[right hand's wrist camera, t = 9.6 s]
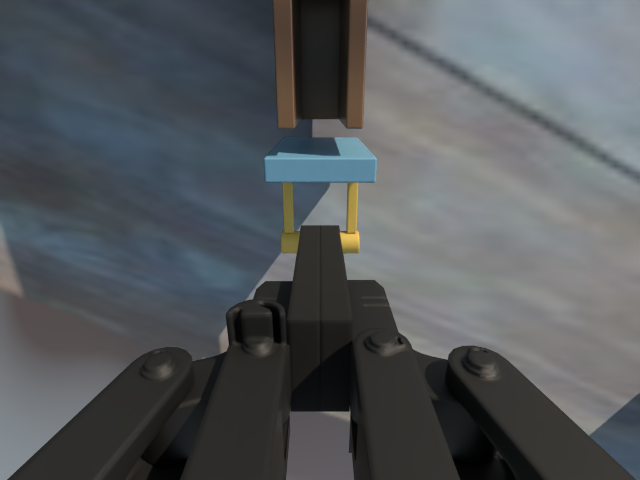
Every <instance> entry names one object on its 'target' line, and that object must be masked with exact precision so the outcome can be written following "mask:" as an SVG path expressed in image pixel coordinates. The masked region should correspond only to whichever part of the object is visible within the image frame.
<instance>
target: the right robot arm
mask: <svg viewBox="0 0 640 480" xmlns="http://www.w3.org/2000/svg"><path fill="white" fill-rule="evenodd" d="M226 321H227V330H228V339H229V347H228V349H227V351H226V352H224V353H222V354H220V355H217V356H214V357H210V358H206V359H201V360H197V361H192V357H191V355H190V354H189V353H188V352H187V351H186V350H183V349H180V348H174V347H166V348H161V349H156V350H153V351H151V352H148V353H146V354H144V355H142V356H140V357H139V358H138V359H136V360H135V361H133V362H132V363H131V364H130V365H129V366H128V367H127V368H126V369H125V370H124V371H123V372H122V373H120V374H119V375H118V376H117V377H116V378H115V379H114V380H113V381H112V382H111V383H110V384H109V385H108V386H107V387H106V388H104V389H103V390H102V391H101V392H100V393H99V394H98V395H97V396H96V397H95V398H94V399H93V400H92V401H91V402H90V403H88V404H87V405H86V406H85V407H84V408H83V409H82V410H81V411H80V412H79V413H78V414H77V415H76V416H75V417H74V418H73V419H72V420H70V421H69V422H68V423H67V424H66V425H65V426H64V427H63V428H62V429H61V430H60V431H59V432H58V433H57V434H55V435H54V436H53V437H52V438H51V439H50V440H49V441H48V442H47V443H46V444H45V445H44V446H43V447H42V448H41V449H40V450H38V451H37V452H36V453H35V454H34V455H33V456H32V457H31V458H30V459H29V460H28V461H27V462H26V463H25V464H23V465H22V466H21V467H20V468H19V469H18V470H17V471H16V472H15V473H14V474H13V475H12V476H11V477H10V478H9V479H7V480H286V471H287V459H288V448H289V436H290V416H289V413H290V410H291V411H349V410H350V411H351V416H350V441H349V453H352V458H353V470H354V480H636V479H635V478H633V477H632V476H631V475H630V474H629V473H628V472H627V471H626V470H625V469H624V468H623V467H622V466H621V465H620V464H618V463H617V462H616V461H615V460H614V459H613V458H612V457H611V456H610V455H609V454H608V453H607V452H606V451H604V450H603V449H602V448H601V447H600V446H599V445H598V444H597V443H596V442H595V441H594V440H593V439H592V438H591V437H589V436H588V435H587V434H586V433H585V432H584V431H583V430H582V429H581V428H580V427H579V426H578V425H577V424H575V423H574V422H573V421H572V420H571V419H570V418H569V417H568V416H567V415H566V414H565V413H564V412H563V411H562V410H560V409H559V408H558V407H557V406H556V405H555V404H554V403H553V402H552V401H551V400H550V399H549V398H548V397H546V396H545V395H544V394H543V393H542V392H541V391H540V390H539V389H538V388H537V387H536V386H535V385H534V384H533V383H531V382H530V381H529V380H528V379H527V378H526V377H525V376H524V375H523V374H522V373H521V372H520V371H519V370H517V369H516V368H515V367H514V366H513V365H512V364H511V363H510V362H509V361H508V360H506V359H505V358H504V357H502V356H501V355H499V354H498V353H496V352H494V351H491V350H489V349H486V348H482V347H477V346H461V347H458V348H455V349H453V351H452V352H451V353H450V354H449V357H448V360H446V359H441V358H436V357H432V356H428V355H425V354H421V353H419V352H417V351H415V350H413V349H412V346H411V344H410V343H409V341H408V340H407V338H406V337H404V336H403V335H402V334H400V333H399V332H398V329H397V326H396V323H395V321H394V318H393V315H392V312H391V309H390V307H389V303H388V300H387V297H386V294H385V291H384V288H383V287H382V286H381V285H380V284H378V283H377V282H376V281H375V280H347V276H346V270H345V263H344V256H343V250H342V243H341V236H340V229H339V226H301V229H300V236H299V243H298V250H297V256H296V263H295V270H294V276H293V281H265V282H264V283H263V284H262V285H261V286H260V287H258V288H257V289H256V292H255V295H254V298H253V300H247V301H244V302H241V303H238V304H236V305H235V306H233V307H232V308H230V309H229V311H228V312H227V313H226Z"/></svg>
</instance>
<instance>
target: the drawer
mask: <svg viewBox="0 0 640 480" xmlns="http://www.w3.org/2000/svg"><path fill="white" fill-rule="evenodd" d="M367 16H368V0H273V22H274V47H275V72H276V96H277V121H278V128H279V129H294V128H295V127H296V126H297V125H298V123H299V122H300V121H301V120H302V119H339V120H340V121H341V122H342V124H343V125H344V126H345V127H346V128H347V129H362V128H363V112H364V88H365V64H366V40H367ZM376 166H377V159H376V157H375V156H374V155H373V154H372V153H371V152H370V151H369V150H368V149H367V148H366V147H365V146H364V144H363V143H362V142H361V141H360V140H359V139H358V138H291V137H284V138H282V139H281V141H280V142H279V143H278V144H277V145H276V146H275V147H274V148H273V149H272V150H271V152H270V153H269V154H268V155H267V156H266V157H265V158H264V172H265V182H267V183H282V187H283V214H284V231H282V233H281V251H282V253H297V250H298V243H299V236H300V231H294V209H293V183H348V190H347V225H346V230H347V231H340V236H341V243H342V250H343V253H358V252H359V246H360V238H359V232H358V231H356V225H357V200H358V183H374V182H375V181H376Z"/></svg>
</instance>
